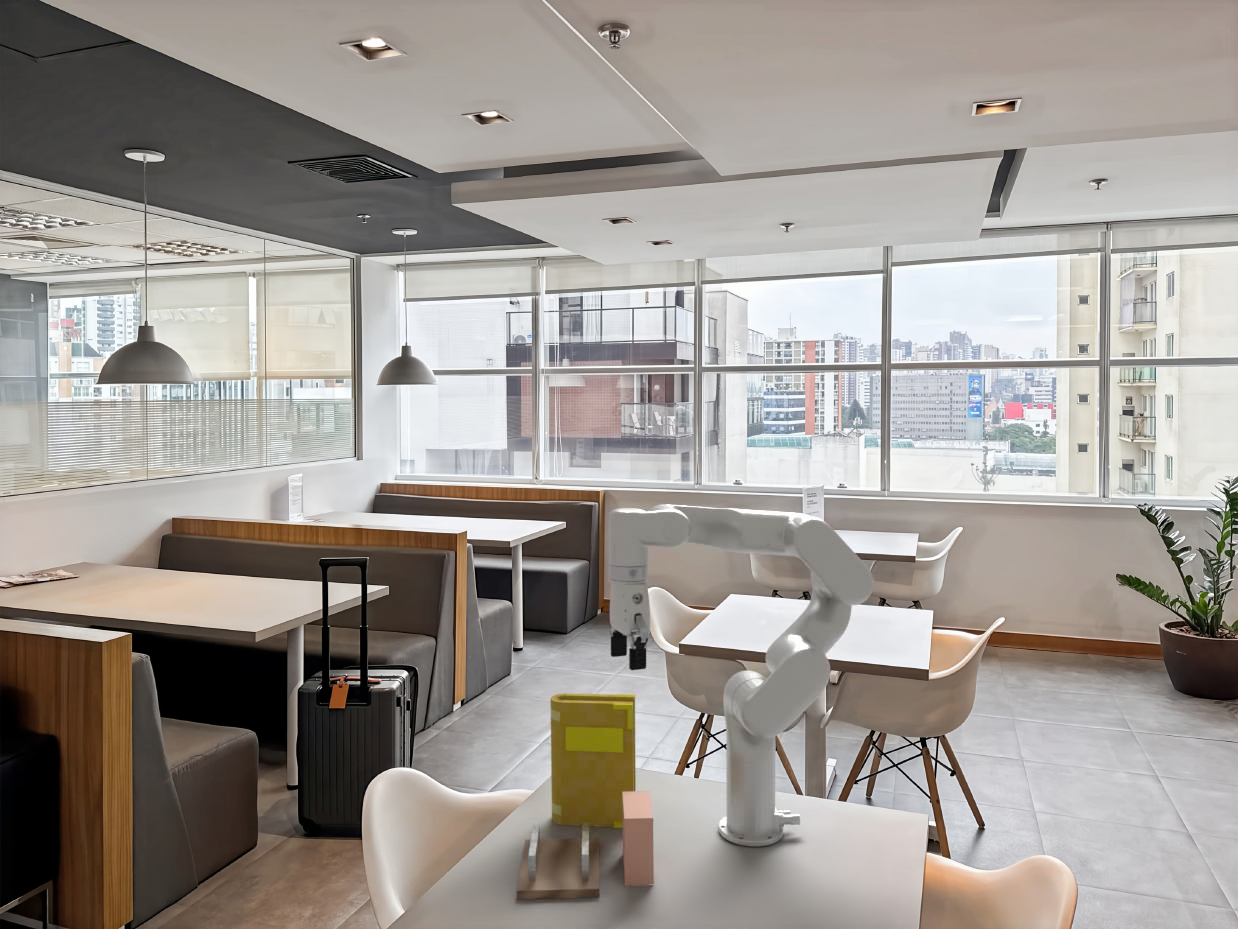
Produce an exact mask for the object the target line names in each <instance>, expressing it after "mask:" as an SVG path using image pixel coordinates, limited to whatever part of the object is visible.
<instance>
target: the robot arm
mask: <svg viewBox="0 0 1238 929" xmlns="http://www.w3.org/2000/svg"><path fill="white" fill-rule="evenodd" d="M685 544H697V545H704V546H710V547H714V548H717V549H720V550H724V551H726V552H730V553H731V552H732V553H736V554H752V555H753V554H754V555H768V556H769V555H772V556H784V557H787V556H788V557H796V558H798V559H800V560H801V561H802V562H803V563H804V564H805V566H806V567H807V568H808V569H809V571H810V580H811V587H812V589H811V591H812V592H811V597H810V600H809V603H808V605H807V607H806V608H805V609H804V611H803V612H802V613H801V614H800V615H799V616H798V618H797V619H796V620H795V621H794V622H792V624H791V625H789V626H788V627H787V629H786V630H785V631H783V632H782V633H781V634H780V635H779V636H778V637H777V638H776V639H775V640H774V641H773V642H772V643H771V645H770V646H769V647H768V648H767V650H766V652H765V664H766V667H767V669H768V671H769V672H770V675H768V677H765V676H764V675H762V674H761V673H759V672H756V671H755V670H754V671H753V670H741V671H738V672H736V673H735V674H733V675H732V676H731V677H730V678H729V679H728V681H727V682H726V685H725V687H724V690H723V697H722V698H723V710H724V711H723V712H724V720H725V731H726V732H725V733H726V735H725V736H726V739H725V740H726V744H725V745H726V754H725V755H726V756H725V757H726V763H725V764H726V770H725V771H726V775H725V776H726V783H725V784H726V815H725V816H723V817H722V818H721V819H720V821H718V832H719V834H720V835H721V836H722V838H723V839H725V840H726V841H728V842H731V843H733V844H736V845H740V846H745V847H753V848H755V847H757V848H758V847H764V846H765V847H766V846H769V845H773V844H775V843H777V842H779V841H780V840H781V839H782V838H783V835H784V827H785V825H787V826H788V825H790V826H800V824H801V817H800V814H799V813H796V814H795V813H794V814H793V813H792V812H791V810H790V809H784V810H779V809H777V807H776V753H777V752H776V750H777V749H776V745H777V744H776V737H777V736H778V735H780V734H781V733H783V732H784V731H785V730H787V729H788V727H790V726H791V725H792V724H793V723H794V722H795V721H797V719H798V718H800V716H801V715H802V714H803V713H805V711H806V710H807V709H808V708H809V707H810V706H811V705H812V704H813V703H814V702H815V701H816V700H817V698H818V697H819V696H820V695H821V694H822V693H823V692H824V691H825V689H826V688H827V685H828V683H829V680H830V677H831V664H830V661H829V659H828V656H826V655H827V654H828V652H829V651H830V650H831V649H832V648H833V646H834V645H835V644H836V643H837V642H838V641H839V640H840V639H841V638H842V636H843V635H844V633H845V632H846V630H847V628H848V625H849V622H850V619H851V616H852V615H851V614H852V609H853V608H852V607H853V606H858V605H860V604H863V603H864V602H866V601H867V600H868V599H869V598H870V596H871V595H872V593H873V589H874V584H875V583H874V577H873V574H872V572H871V570H870V569H869V567H868V566H867V564H865V562H864V561H863V560H862V559H861V558H860V557H859V556H858V554H856V552H855V551H854V550H852V548H851V547H850V546H849V545H848V544H847V542H845V541H844V540H843V539H842V537H841V536H840V535H839V534H838V532H836V530H834V529H833V528H832V527H831V525H830V524H829V523H827V522H826V521H825V520H823V519H822V518H819V517H816V516H812V515H809V514H806V513H802V512H792V511H791V512H790V511H789V512H788V511H776V510H775V511H774V510H761V509H760V510H757V509H744V508H732V507H731V508H730V507H729V508H728V507H724V508H723V507H722V508H721V507H707V506H694V505H678V504H664V503H663V504H658V505H655V506H653V507H651V508H650V509H649V510H647V511H645V510H644V509H641V508H633V507H632V508H631V507H622V508H615V509H613V510H611V511H610V512H609V515H608V582H609V583H610V593H609V594H610V596H609V625H610V631H609V634H610V655H611V656H610V657H612V658H616V657H626V656H627V654H628V658H629V659H628V660H629V662H628V665H629V667H628V668H629V670H630V671H636V670H637V671H638V670H639V671H641V670H646V668H647V648H648V641H649V638H648V636H649V634H650V633H651V612H650V611H651V610H650V609H651V606H650V596H649V588H648V582H649V547H654V548H655V547H656V548H663V549H676V548H678V547H679V548H680V547H682V546H683V545H685ZM635 638H636V639H635ZM628 641H629V644H630V647H631V648H629V649H628ZM628 651H629V652H628ZM791 813H792V814H791Z"/></svg>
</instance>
